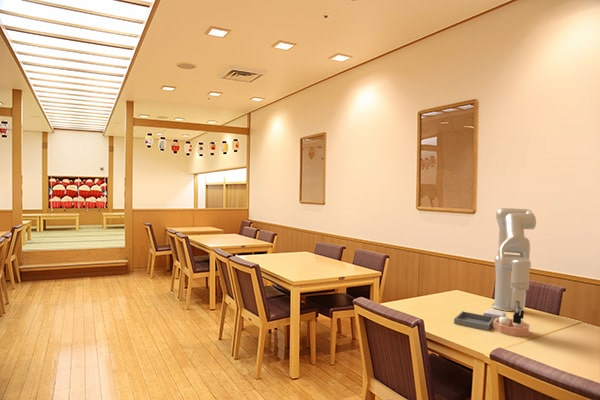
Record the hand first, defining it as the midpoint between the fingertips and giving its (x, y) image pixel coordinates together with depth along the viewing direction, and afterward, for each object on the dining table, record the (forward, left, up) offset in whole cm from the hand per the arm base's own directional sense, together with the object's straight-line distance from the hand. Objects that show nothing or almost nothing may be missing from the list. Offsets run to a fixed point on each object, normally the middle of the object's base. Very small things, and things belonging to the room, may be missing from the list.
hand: (518, 320), depth 193 cm
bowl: (0, -3, -6) cm, 7 cm away
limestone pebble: (0, -6, -5) cm, 8 cm away
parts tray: (0, -19, -6) cm, 20 cm away
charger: (-15, -12, -6) cm, 21 cm away
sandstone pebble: (0, 0, -5) cm, 5 cm away
